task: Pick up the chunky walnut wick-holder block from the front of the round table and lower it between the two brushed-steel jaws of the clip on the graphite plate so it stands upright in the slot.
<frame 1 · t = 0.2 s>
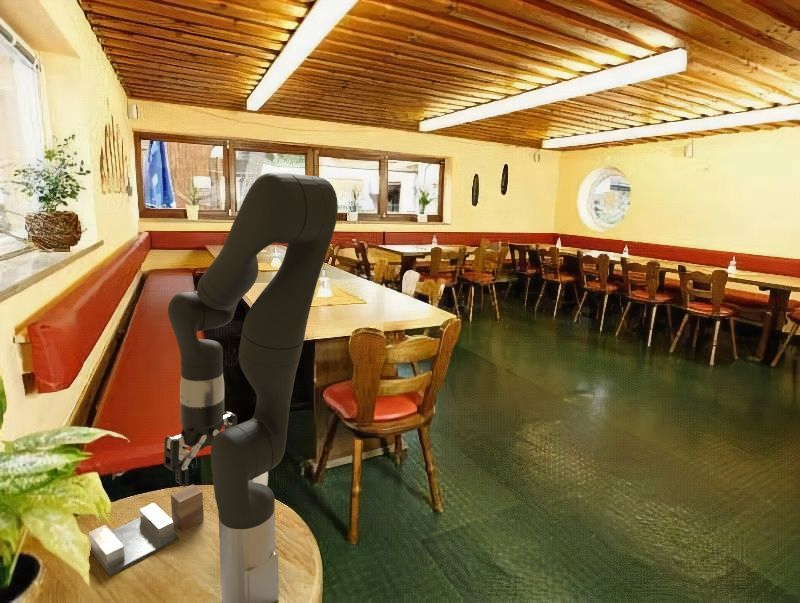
hand: (203, 473, 89), 18 cm above the table, tool pointing down, fingers open, 8 cm apart
beer glass: (252, 521, 103), on the table
walnut wick block: (188, 521, 102), on the table
wick clip: (133, 542, 95), on the table
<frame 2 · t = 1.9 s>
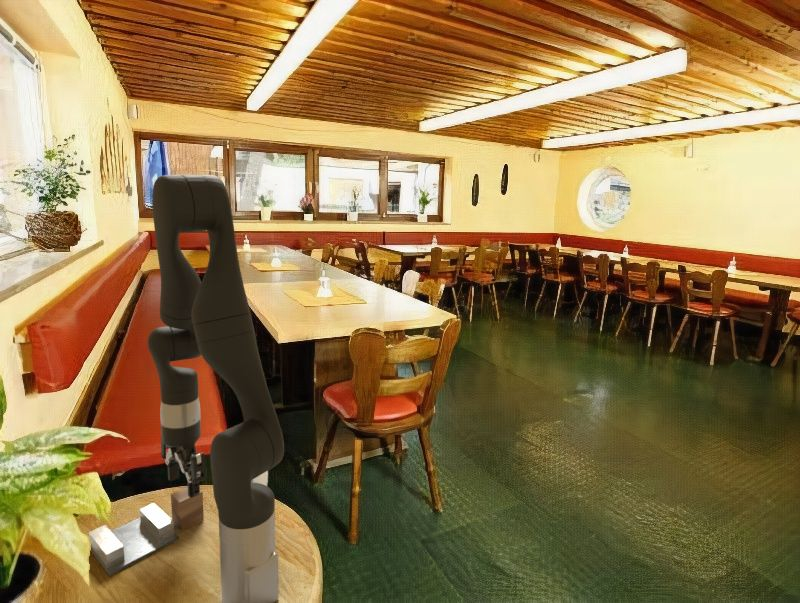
hand: (183, 487, 100), 8 cm above the table, tool pointing down, fingers open, 8 cm apart
nothing on the table moved.
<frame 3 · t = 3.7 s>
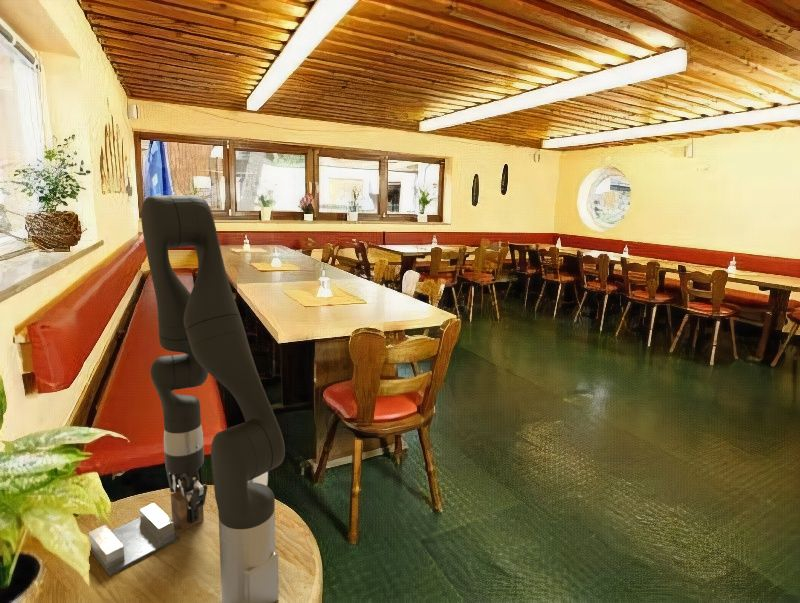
hand: (187, 516, 102), 1 cm above the table, tool pointing down, fingers closed on walnut wick block, 4 cm apart
walnut wick block: (188, 521, 102), on the table, touching gripper
everything else where it was.
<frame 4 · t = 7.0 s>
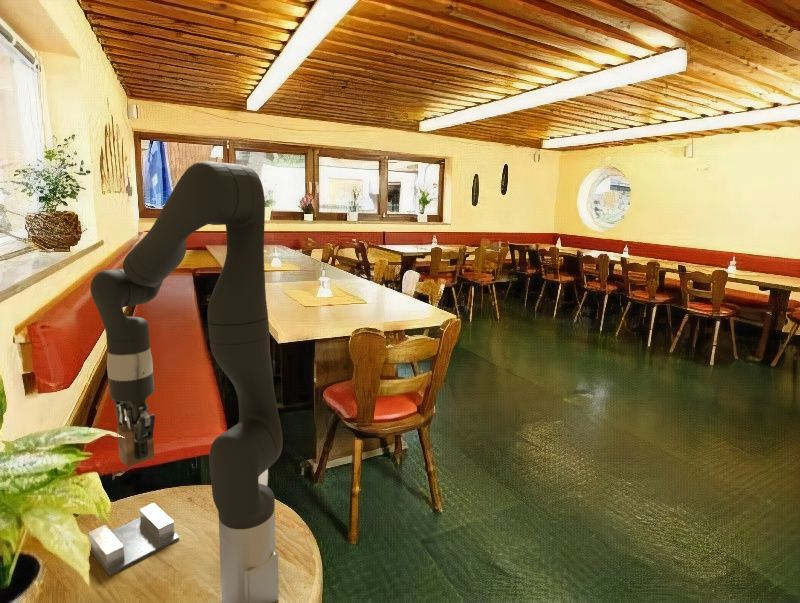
hand: (136, 452, 93), 19 cm above the table, tool pointing down, fingers closed on walnut wick block, 4 cm apart
walnut wick block: (137, 458, 93), point 18 cm above the table, touching gripper
everything else where it was.
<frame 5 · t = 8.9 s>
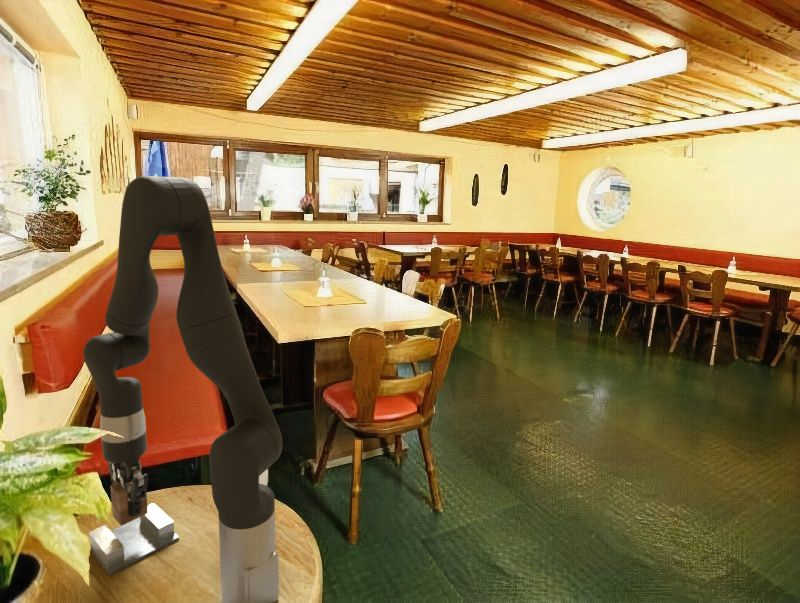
hand: (130, 509, 94), 8 cm above the table, tool pointing down, fingers closed on walnut wick block, 4 cm apart
walnut wick block: (130, 514, 94), point 6 cm above the table, touching gripper
everything else where it was.
when the fingers open (3 cm above the table, at t = 10.6 s): walnut wick block stays where it is, resting on wick clip.
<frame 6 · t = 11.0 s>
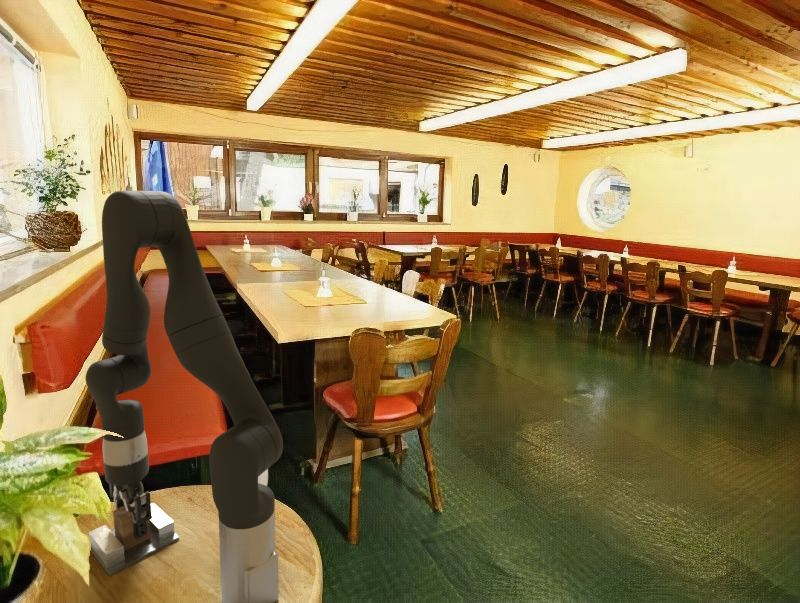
hand: (132, 526, 94), 4 cm above the table, tool pointing down, fingers open, 7 cm apart
walnut wick block: (133, 539, 95), point 1 cm above the table, touching wick clip
everything else where it was.
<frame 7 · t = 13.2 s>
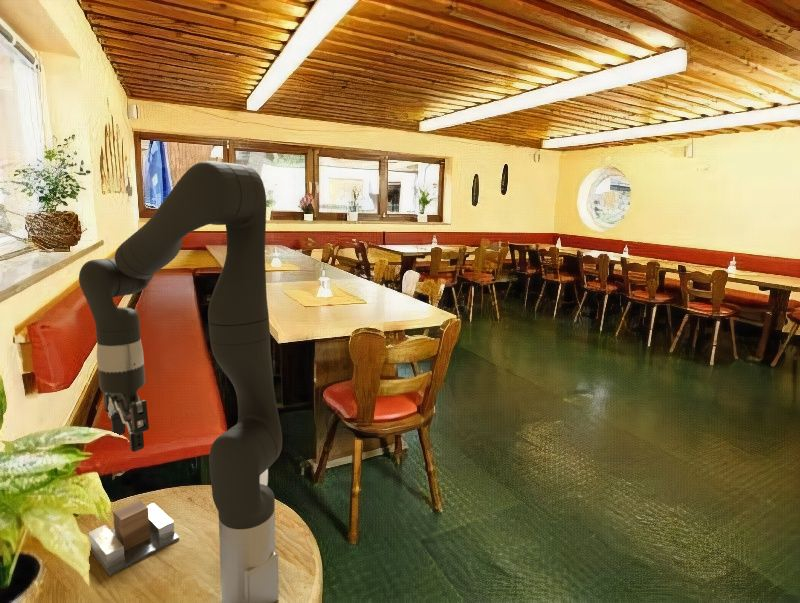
hand: (127, 441, 91), 22 cm above the table, tool pointing down, fingers open, 8 cm apart
nothing on the table moved.
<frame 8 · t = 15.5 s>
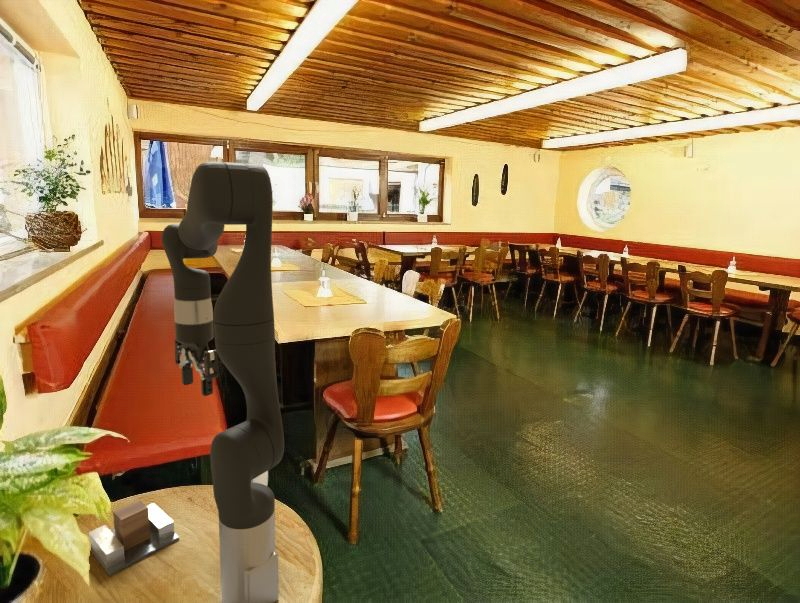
hand: (197, 389, 103), 28 cm above the table, tool pointing down, fingers open, 8 cm apart
nothing on the table moved.
at the end: walnut wick block 0.0 cm off-centre on the wick clip, point 0.6 cm above the wick clip's base; walnut wick block tilted 0°; the gripper is holding nothing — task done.
